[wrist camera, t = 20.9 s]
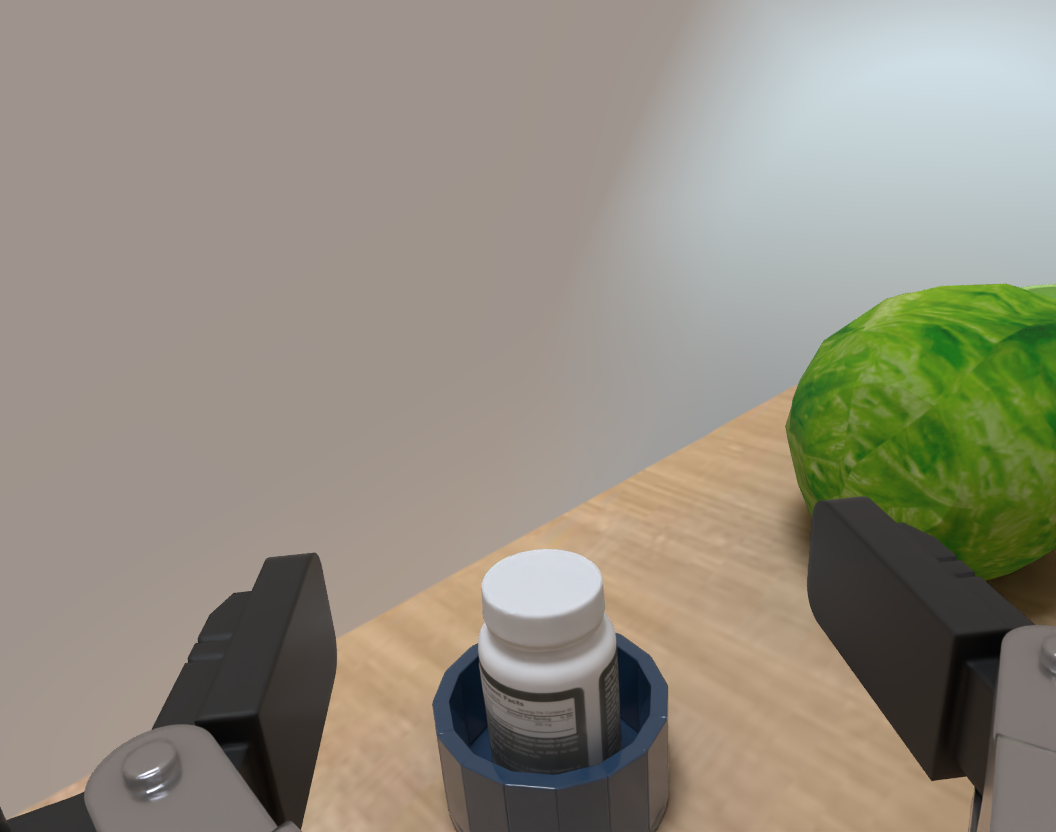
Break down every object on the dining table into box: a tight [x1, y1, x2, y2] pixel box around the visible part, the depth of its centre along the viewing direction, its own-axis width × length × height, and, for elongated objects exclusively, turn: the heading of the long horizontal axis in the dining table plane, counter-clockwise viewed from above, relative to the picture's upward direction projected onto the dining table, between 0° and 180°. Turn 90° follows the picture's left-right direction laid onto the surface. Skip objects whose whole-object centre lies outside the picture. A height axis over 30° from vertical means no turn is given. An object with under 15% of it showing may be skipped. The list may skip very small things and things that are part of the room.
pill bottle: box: [478, 549, 622, 775], centre depth 26 cm, size 5×5×8 cm
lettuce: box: [785, 284, 1056, 581], centre depth 40 cm, size 15×22×15 cm
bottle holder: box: [432, 633, 669, 832], centre depth 28 cm, size 8×8×4 cm
